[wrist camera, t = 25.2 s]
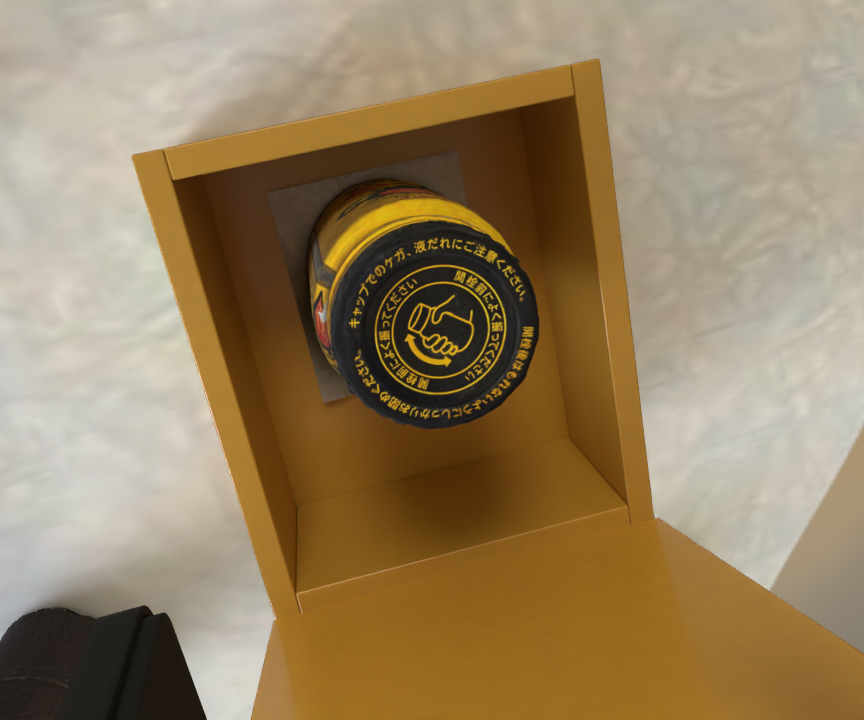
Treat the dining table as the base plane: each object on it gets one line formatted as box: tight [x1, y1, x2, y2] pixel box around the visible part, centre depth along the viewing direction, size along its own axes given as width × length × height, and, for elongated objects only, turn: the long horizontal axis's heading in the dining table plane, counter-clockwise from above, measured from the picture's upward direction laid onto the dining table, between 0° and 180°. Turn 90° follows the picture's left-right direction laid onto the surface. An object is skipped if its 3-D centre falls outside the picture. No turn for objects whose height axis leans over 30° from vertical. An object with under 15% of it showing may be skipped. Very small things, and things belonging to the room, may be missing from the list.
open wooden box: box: [132, 59, 654, 620], centre depth 28 cm, size 16×14×7 cm
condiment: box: [267, 150, 540, 429], centre depth 25 cm, size 7×8×12 cm
